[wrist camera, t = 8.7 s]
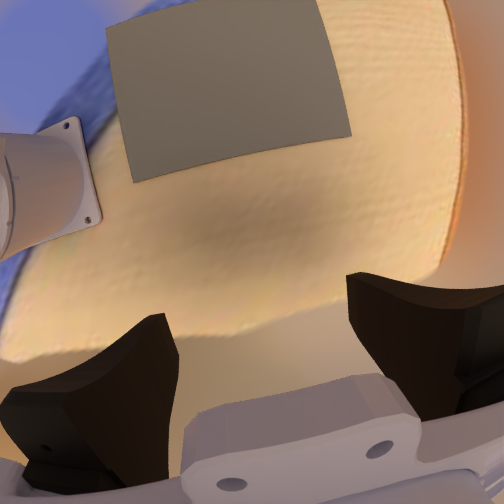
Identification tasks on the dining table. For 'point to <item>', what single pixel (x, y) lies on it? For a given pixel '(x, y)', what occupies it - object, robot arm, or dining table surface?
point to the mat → (223, 82)
